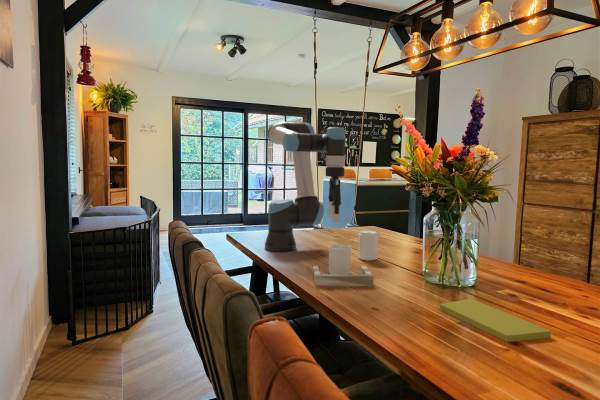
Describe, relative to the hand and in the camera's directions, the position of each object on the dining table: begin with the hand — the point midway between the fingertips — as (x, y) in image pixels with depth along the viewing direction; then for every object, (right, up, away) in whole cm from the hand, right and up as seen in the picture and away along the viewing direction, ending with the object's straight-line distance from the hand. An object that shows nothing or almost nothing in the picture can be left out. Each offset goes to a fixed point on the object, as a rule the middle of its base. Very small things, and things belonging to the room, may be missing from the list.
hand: (333, 219), depth 157 cm
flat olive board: (+37, -25, -55) cm, 71 cm away
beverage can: (+16, -18, +11) cm, 26 cm away
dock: (+1, -20, -20) cm, 28 cm away
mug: (0, -20, -10) cm, 22 cm away
